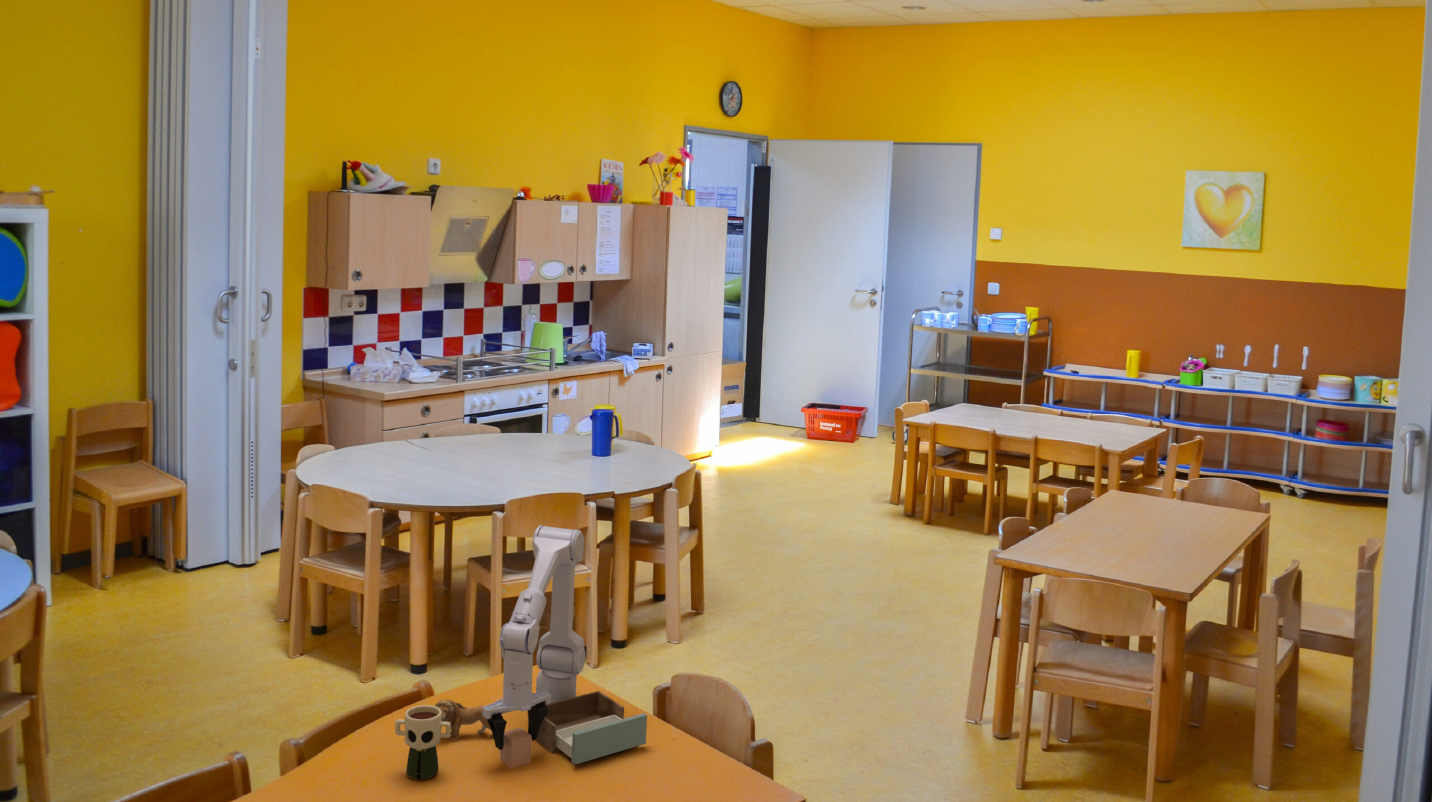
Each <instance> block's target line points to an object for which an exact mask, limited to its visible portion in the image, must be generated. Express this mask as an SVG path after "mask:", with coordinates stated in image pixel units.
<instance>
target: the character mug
mask: <svg viewBox="0 0 1432 802" xmlns="http://www.w3.org/2000/svg"><path fill="white" fill-rule="evenodd" d="M441 720H442V711H441V710H440V708H438V707H436V706H435V705H430V704H421V705H420V704H419V705H416V706H412V707H410V708H408V709H407V710H406V711H405V714H404V719H401V718H400V719H396V720H395V726H394V728H395V729H394V731H395V732H394V733H395V735H397V736H404V742H405V745H406V746H408V747H409V750H408V755H407V756H408V757H407V762H406V776H408V777H409V778H412V779H417V775H420V779H421V780H425V779H429V778H432V777H434V776H436V775H437V774H438V773H439V759H438V750H437V747H436V746H438V744H439V743H441V740H442V739H443V738H446V739H448V738H451V737H452V736H451V724H450V722H442V721H441ZM401 725H404V730H401ZM442 727H445V732H442Z"/></svg>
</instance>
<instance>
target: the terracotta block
mask: <svg viewBox="0 0 1432 802" xmlns="http://www.w3.org/2000/svg"><path fill="white" fill-rule="evenodd" d="M499 754H500V757H499V759H500V761H501V762H502V763H503V764H504V765H506V766H507V767H509V769H512V770H513V769H515V768H519V767H522V766H525V765H529V764H531V762H532V739H531V735H530V734H529V733H528V731H527V730H525V729H523V728H522V727H521V726H520V727H517V728H512V729H509V730H505V731H504V746H503V749H502V750H500V753H499Z"/></svg>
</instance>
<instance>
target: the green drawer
mask: <svg viewBox="0 0 1432 802" xmlns="http://www.w3.org/2000/svg"><path fill="white" fill-rule="evenodd" d="M647 726H648V715H647V714H646V713H644V712H643V713H639V714H635V715H632V716H628V717H624V719H621V718H619V717H618V716H616V715H611V716H608V717H604V718H600V719H597V720H593V721H589V722H586V723H582V724H578V725H575V726H571V727H567V728H564V729H560V730H556V747H557V748H558V749H560V750H561V751H560V752H562V753H564V754H565V755H567V757H569V758H570V759H571V763H572V764H573V765H579V764H581V763H585V762H588V761H591V760H595V759H598V758H603V757H605V756H608V755H611V754H615V753H619V752H623V751H626V750H629V749H632V748H635V747H640V746H643V745H646V744H647V728H648V727H647Z"/></svg>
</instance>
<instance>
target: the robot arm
mask: <svg viewBox="0 0 1432 802" xmlns="http://www.w3.org/2000/svg"><path fill="white" fill-rule="evenodd" d="M584 544H585V536H584V535H583V533H582V531H581V530H580V529H572V528H571V529H570V528H562V527H561V528H560V527H554V526H546V525H541V524H540V525H539V526H537V528H535V530H534V533H533V536H532V551H533V556H534V565H533V567H532V570H531V571H532V572H531V574H530V579H529V582H528V587H527V589H524V590H522V591H520V593H519V595H518V599H517V601H516V604H515V606H514V609H513V612H512V614H511V617H510V620H509V621H508V622H506V623H504V624H503V626H502V628H501V632H500V636H499V648H500V649H501V658H502V659H503V681H502V682H503V683H502V688H503V690H502V691H503V692H502V698H501V699H498V700H496V701H494V702H491V703H490V704H487V705H483V706H484V707H483V712H482V716H484V717H485V718H486V720H487V722H488V723H489V726H490V728H491V730H490V731H491V735H492V734H493V737H494V739H493V742H494V746H495V748H497V749H498V750H502V749H503V746H504V732H505V731H506V726H507V723H508V721H507V720H506V719H505V718H504V716H503V714H506V713H511V712H515V711H518V712H519V711H521V712H526V711H527V721H528V723H527V727H528V728H527V733H529V734H530V735H531V741H533V742H535V741H536V739H537V735H538V732H539V729H540V726H541V724H542V722H543V720H544V718H545V716H546V715H547V713H548V707H547V706H546V705H545V704H550V703H553V702H557V701H561V700H565V699H569V698H573V697H577V676H578V675H580V673H582V672H583V670H584V666H585V663H586V650H585V640H584V638H583V637H581V636H580V635H579V634H578V633H577V632H575V631H574V630H573V623H574V622H573V620H574V600H575V578H576V577H575V576H576V564H577V563H579V562H582V561H583V557H584V548H585V545H584ZM551 580H552V585H551V586H552V588H551V605H550V606H551V607H550V608H551V609H550V610H551V612H550V630H549V631H547V632H546V633H545V634H543V635H542V636H541V637H540V639H539V635H540V634H539V633H540V630H541V627H540V622H541V619H542V616H543V614H544V611H545V608H546V605H547V598H546V597H545V593H546V590H547V589H548V586H549V584H550V581H551ZM537 645H538V649H537V653H536V659H535V661H536V665H537V668H538V669H539V672H538V673H537V676H536V679H535V680H536V681H535V686H536V687H535V692H533V691H532V690H533V663H534V662H533V661H534V652H535V650H536V647H537Z"/></svg>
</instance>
